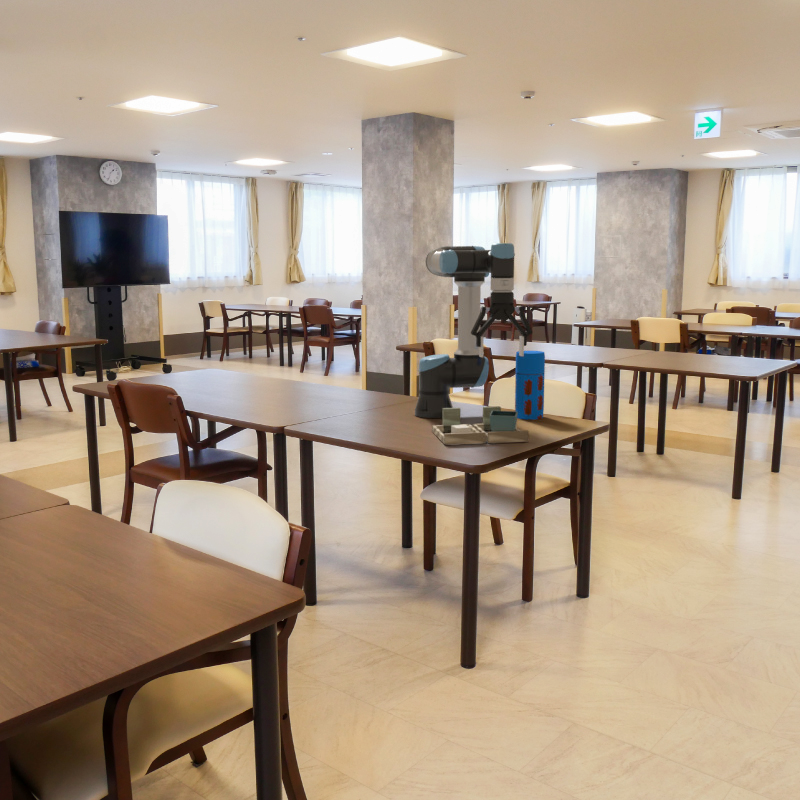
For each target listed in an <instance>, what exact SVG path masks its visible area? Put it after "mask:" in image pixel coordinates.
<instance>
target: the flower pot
mask: <svg viewBox="0 0 800 800" xmlns="http://www.w3.org/2000/svg"><path fill="white" fill-rule="evenodd" d="M517 415H518V412H516V411H515V410H514V411H512V410H510V411H509V410H501V411H491V414H490V426H491V430H490V432H498V431H515V428H516V427H517V421H518V418H517Z"/></svg>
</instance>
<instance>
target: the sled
mask: <svg viewBox="0 0 800 800" xmlns="http://www.w3.org/2000/svg"><path fill="white" fill-rule="evenodd" d="M452 425H467V426H469V427H471V433H451V426H452ZM431 432H432V433H433V434H434V435H435V436H436V437H437V438H438V440H440V442H441V443H442V444H444V445H445V446H448V445H449V446H451V445H452V446H453V445H471V444H472V445H475V444H486V441H485V439H486V433H487V432H486V431H485V432H486V433H485V432H479V431H477V430H476V429H475V428H474V427H473V426H472V424H470V423H463V424H462V423H461V407H453V408H443V418H442V424H436V425H435V424H434V425H431ZM444 432H445V433H444ZM446 432H447V433H446ZM448 432H450V433H448Z"/></svg>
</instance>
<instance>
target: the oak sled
mask: <svg viewBox="0 0 800 800" xmlns="http://www.w3.org/2000/svg"><path fill="white" fill-rule="evenodd" d="M491 411H502V407H501V406H482V423H471V426H473V427H474V428H475V429H476V430H477V431H479V432H485V433H486V439H485V442H486V443H487V444H494V443H495V444H499V443H500V444H502V443H526V442H529V435H530V434H529V433H530V431H529V430H522V429H520V428H518V427H517V426H516V428H515V431H498V432H491V426H490V414H491ZM486 431H487V432H486Z"/></svg>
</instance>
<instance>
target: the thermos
mask: <svg viewBox="0 0 800 800" xmlns="http://www.w3.org/2000/svg"><path fill="white" fill-rule="evenodd" d="M545 361H546V355H545V351H542V350H541V351H540V350H524V356H519V350H518V351H516V354H515V386H514V387H515V390H514V391H515V392H514V393H515V396H514V411H516V412H518V415H517V419H520V420H529V421H530V420H533V421H534V420H541V419H543V418H544V412H545V411H544V410H545V409H544V408H545V372H546V371H545V369H546V365H545V364H546V362H545Z"/></svg>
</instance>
